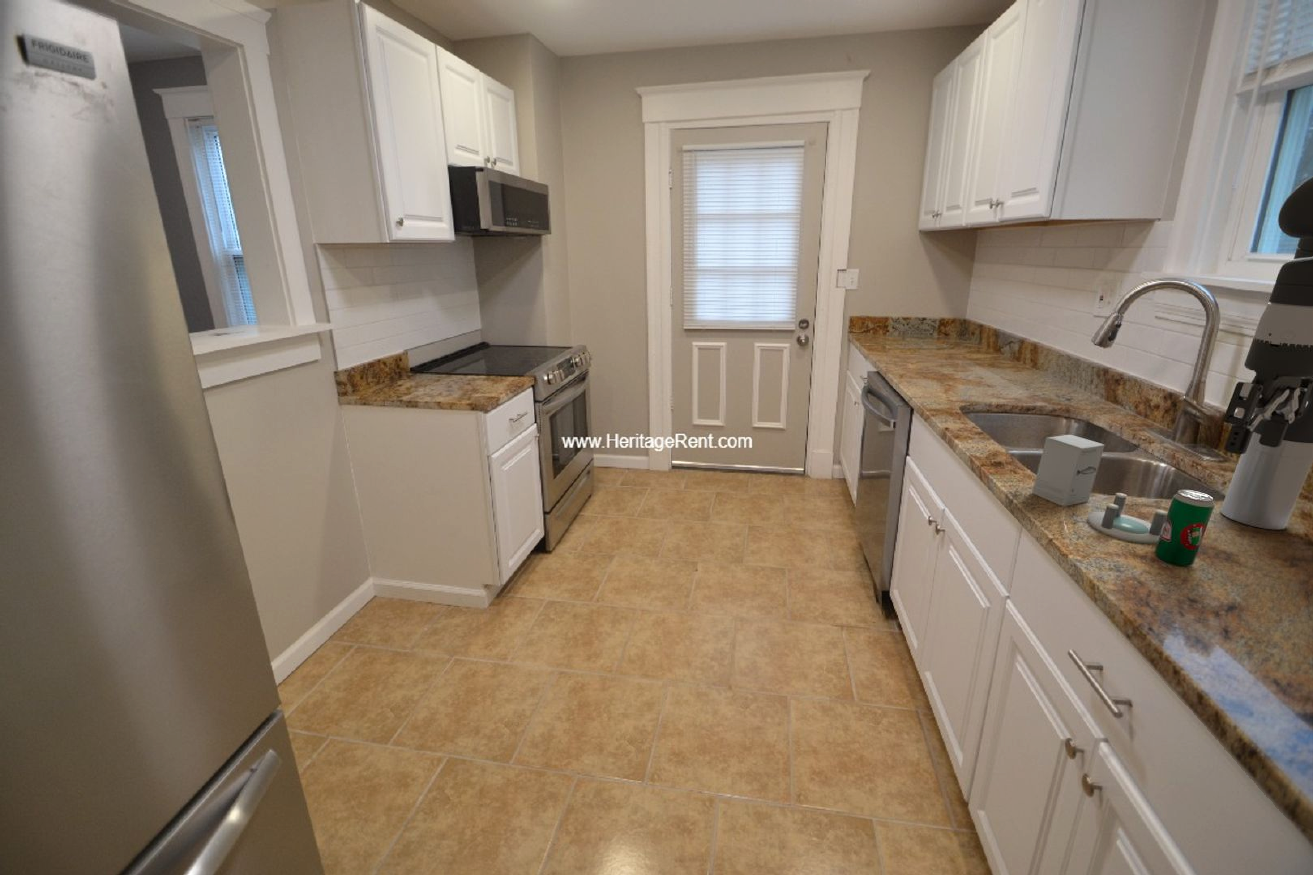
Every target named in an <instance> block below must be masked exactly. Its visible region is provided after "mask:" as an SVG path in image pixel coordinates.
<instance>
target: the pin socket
mask: <svg viewBox="0 0 1313 875" xmlns="http://www.w3.org/2000/svg"><path fill="white" fill-rule="evenodd" d="M1127 498H1128V495H1127V494H1125V493H1122V492H1116V493H1115V497H1114V500H1113V502H1112V503H1106V508H1105V511H1095V512H1091V513H1090V514H1089V515H1088V519H1087V522H1088V524H1089V525H1090V526H1091V527H1092V528H1094V529H1095V530H1097V531H1099V532H1100V533H1103V534H1105V535H1107V536H1110V537H1113V538H1116V539H1118V540H1122V541H1128V542H1130V543H1131V542H1133V543H1138V544H1157V543H1158V540H1159V537H1160V534H1161V531H1162V528H1163V525H1164V522H1165V519H1166V516H1167V513H1168V511H1165V510H1162V509H1155V511H1154V515H1153V517H1152V521H1151V523H1150V522H1148V521H1145V520H1143V519H1141V518H1137V517H1135V516H1130V515H1128V514H1123V509H1124V505H1125V504H1126V500H1127Z"/></svg>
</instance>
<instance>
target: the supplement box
mask: <svg viewBox="0 0 1313 875" xmlns="http://www.w3.org/2000/svg"><path fill="white" fill-rule="evenodd" d="M1104 449H1105V444H1103V443H1101V442H1097V441H1094V440H1090V439H1087V438H1085V437H1084V438H1083V437H1080V436H1076V435H1073V434H1064V435H1057V436H1056V435H1055V436H1048V437H1045V441H1044V446H1043V450H1042V453H1041V456H1040V457H1041V458H1040V460H1039V463H1038V464H1039V465H1038V469H1037V473H1036V476H1035V480H1034V484H1033V489H1032V492H1031V493H1032V494H1034V495H1035V496H1037V497H1039V498H1042V499H1045V500H1047V501H1050V502H1053V503H1055V504H1057V505H1058V506H1062V507H1069V506H1072V505H1073V506H1074V505H1077V504H1082V503H1088V502H1089V500H1090V496H1091V493H1092V490H1093V486H1094V483H1095V480H1096V475H1097V473H1098V471H1099V467H1100V463H1101V459H1102V456H1103V452H1104Z"/></svg>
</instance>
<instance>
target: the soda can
mask: <svg viewBox="0 0 1313 875" xmlns="http://www.w3.org/2000/svg"><path fill="white" fill-rule="evenodd" d="M1213 501H1214V497H1212V496H1210V495H1208V494H1206V493H1203V492H1200V491H1196V490H1191V489H1179V490H1178V491H1177V492H1176V494H1174V495H1173V496H1172V499H1171V502H1170V505H1169V507H1168V511H1167V516H1166V519H1165V522H1164V525H1163V528H1162V531H1161V534H1160V537H1159V540H1158V542H1157V543H1156V545H1155V549H1154V555H1155V557H1156V558H1157V559H1158V560H1160V561H1161V562H1163V563H1164V564H1168V565H1171V566H1174V567H1179V568H1188V567H1190V566H1192V565H1194V563H1195V560H1196V557H1197V555H1198V552H1199V549H1200V547H1201V544H1202V542H1203V539H1204V535H1205V533H1206V530H1207V528H1208V525H1209V522H1210V519H1211V516H1212V514H1213V512H1214V509H1215V504H1214V502H1213Z"/></svg>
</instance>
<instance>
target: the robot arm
mask: <svg viewBox="0 0 1313 875" xmlns="http://www.w3.org/2000/svg"><path fill="white" fill-rule="evenodd" d="M1278 213H1279V214H1278V219H1277V220H1278V221H1277V222H1278V226H1279V229H1280V230H1281V232H1283V234H1285V235H1287V236H1288V237H1291V238H1295V239H1296V238H1297V239H1298V243H1297V246H1296V249H1295V253H1294V257H1293V259H1290V260H1288V261H1286V262H1284V263H1283V264H1282V266H1281V268H1280V269H1279V271H1278V274H1277V276H1276V280H1275V282H1274V285H1273V287H1272V288H1273V289H1272V292H1271V294H1270V296H1269V300H1268V303H1267V304H1266V307H1265V309H1264V311H1263V312H1262V315H1261V317H1260V319H1259V320H1258V324H1257V326H1256V330H1255V333H1254V336H1253V339H1252V341H1251V345H1250V347H1249V350H1248V353H1247V356H1246V359H1245V361H1244V367H1245V368H1246V369H1247V370H1250V371H1254V372H1255V376H1254V378H1253V379H1252V381H1251V382H1246V381H1238V382H1237V383H1236V384H1235V387H1234V390H1233V392H1232V395H1231V398H1230V401H1229V403H1228V406H1227V408H1226V411H1225V414H1224V415H1223V419H1222V422H1223V423H1226V424H1228V425H1229V426H1231V427H1230V431H1229V434H1228V437H1227V438H1226V441H1225V445H1224V451H1226V452H1227V453H1231V454H1236V455H1238V456H1240V457H1239V460H1238V462H1237V465H1236V468H1235V471H1234V473H1233V476H1232V479H1231V480H1230V481H1231V482H1230V484H1229V486H1228V489H1227V492H1226V494H1225V497H1224V500H1223V503H1222V504H1221V509H1220V513H1221V514H1222V515H1223V516H1225V517H1226V518H1228V519H1230V520H1233V521H1236V522H1238V523H1241V524H1244V525H1248V526H1251V527H1257V528H1261V529H1266V530H1267V529H1268V530H1275V531H1276V530H1284V529H1286V527H1287V525H1288V523H1289V520H1290V519H1291V515H1292V514H1293V510H1294V508H1295V507H1296V506H1295V505H1296V503H1297V501H1298V499H1299V496H1300V493H1301V492H1302V489H1303V487H1304V484H1305V482H1306V479H1307V477H1308V474H1309V472H1310V469H1311V467H1312V465H1313V175H1312V176H1311V177H1309V178H1307V179H1306V180H1305V181H1303V182H1301V183H1300V184H1299V185H1298V186H1297V187H1296V188H1295V189H1294V190H1293V191H1292V192H1291V193H1289V195H1288V197H1287V198H1286V200H1285V201H1284V202H1283V204H1282V206H1281V207H1280V210H1279V212H1278ZM1236 410H1237V411H1236Z"/></svg>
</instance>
